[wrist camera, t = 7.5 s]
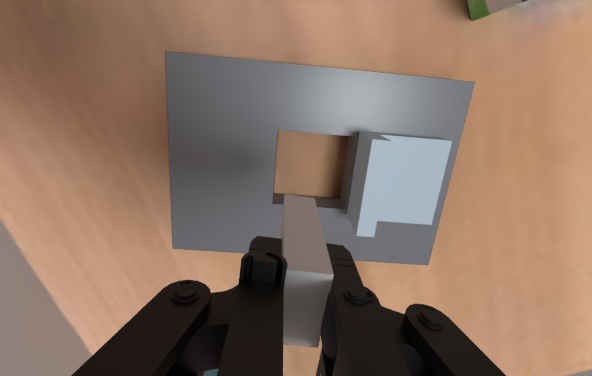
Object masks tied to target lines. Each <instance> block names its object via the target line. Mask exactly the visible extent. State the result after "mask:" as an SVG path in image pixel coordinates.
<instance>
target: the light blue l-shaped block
mask: <svg viewBox="0 0 592 376" xmlns="http://www.w3.org/2000/svg"><path fill="white" fill-rule="evenodd" d="M451 144H452V141H451V140H448V139H437V138H426V137H414V136H403V135H392V134H380V133H369V132H359V138H358V145H357V151H356V158H355V164H354V171H353V177H352V184H351V191H350V197H349V204H348V210H347V217H348V219H349V221H350V223H351V226H352V228H353V230H354V232H355V234H356V236H365V237H374V235H375V230H376V225H377V221H386V222H399V223H413V224H427V225H432V221H433V217H434V213H435V209H436V205H437V201H438V197H439V193H440V188H441V184H442V180H443V176H444V172H445V168H446V164H447V160H448V156H449V152H450V148H451Z"/></svg>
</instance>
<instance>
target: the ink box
mask: <svg viewBox="0 0 592 376" xmlns="http://www.w3.org/2000/svg"><path fill="white" fill-rule="evenodd" d="M525 1H527V0H467V4H468V9H469V13H470V18H471V20H477V19H480V18H483V17H485V16H488V15H490V14H493V13H496V12H498V11H501V10H504V9H506V8H509V7H512V6H514V5H517V4H520V3H522V2H525Z"/></svg>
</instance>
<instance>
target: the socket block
mask: <svg viewBox="0 0 592 376" xmlns="http://www.w3.org/2000/svg"><path fill="white" fill-rule="evenodd" d="M165 58H166V85H167V112H168V139H169V166H170V193H171V220H172V247H173V249H187V250H202V251H217V252H233V253H248V251H249V247H250V243H251V241H252V240H253V239H254V238H255V237H257V236H263V237H272V238H278V237H279V230H280V223H281V216H282V210H283V203H284V196H285V194H274V181H275V167H276V153H277V139H278V130H286V131H297V132H308V133H320V134H331V135H343V136H349V138H348V145H347V152H346V159H345V166H344V173H343V180H342V187H341V194H340V199H338V198H325V197H312V196H302V197H310V198H315V202H316V206H317V210H318V214H319V218H320V222H321V226H322V230H323V234H324V238H325V242H326V243H328V244H336V245H343V246H344V247H345V248H346V249H347V250H348V251H350V252H351V255H352V258H353V260H355V261H370V262H385V263H400V264H416V265H428V264H429V260H430V256H431V252H432V249H433V245H434V241H435V237H436V233H437V229H438V225H439V221H440V217H441V213H442V209H443V205H444V201H445V197H446V193H447V189H448V186H449V182H450V178H451V174H452V170H453V166H454V162H455V158H456V154H457V150H458V146H459V142H460V138H461V134H462V130H463V126H464V123H465V119H466V115H467V111H468V107H469V103H470V99H471V95H472V91H473V87H474V83H475V82H470V81H460V80H450V79H440V78H430V77H420V76H410V75H400V74H390V73H380V72H370V71H360V70H349V69H339V68H329V67H319V66H309V65H299V64H289V63H279V62H269V61H259V60H249V59H239V58H228V57H218V56H208V55H198V54H188V53H178V52H168V51H165ZM359 132H369V133H380V134H392V135H403V136H414V137H426V138H437V139H448V140H451V141H452V144H451V148H450V152H449V156H448V160H447V164H446V168H445V172H444V176H443V180H442V184H441V188H440V193H439V197H438V201H437V205H436V209H435V213H434V217H433V221H432V225H427V224H413V223H399V222H386V221H377V225H376V230H375V235H374V237H365V236H356V234H355V232H354V230H353V228H352V226H351V223H350V221H349V219H348V217H347V210H348V204H349V197H350V191H351V184H352V177H353V171H354V164H355V158H356V151H357V145H358V138H359ZM295 196H299V195H295Z"/></svg>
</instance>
